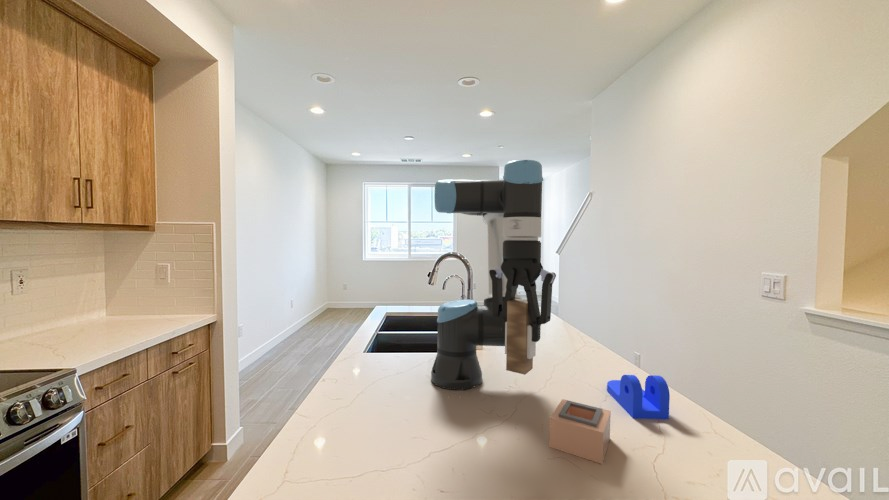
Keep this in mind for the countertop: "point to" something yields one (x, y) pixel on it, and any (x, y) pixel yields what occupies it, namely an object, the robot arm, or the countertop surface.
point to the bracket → (641, 396)
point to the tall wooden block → (517, 337)
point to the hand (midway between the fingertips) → (520, 354)
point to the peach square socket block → (580, 430)
